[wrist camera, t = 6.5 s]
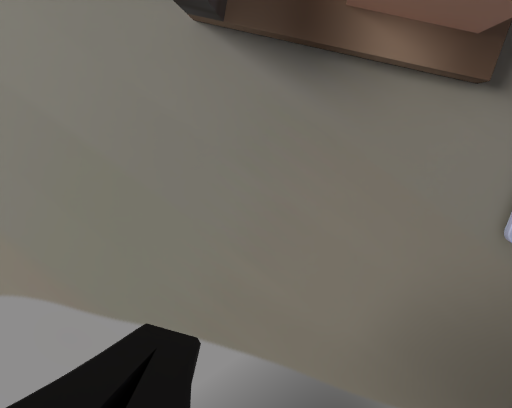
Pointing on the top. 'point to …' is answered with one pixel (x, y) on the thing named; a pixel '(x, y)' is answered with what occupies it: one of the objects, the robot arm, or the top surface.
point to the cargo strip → (361, 33)
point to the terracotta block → (444, 11)
